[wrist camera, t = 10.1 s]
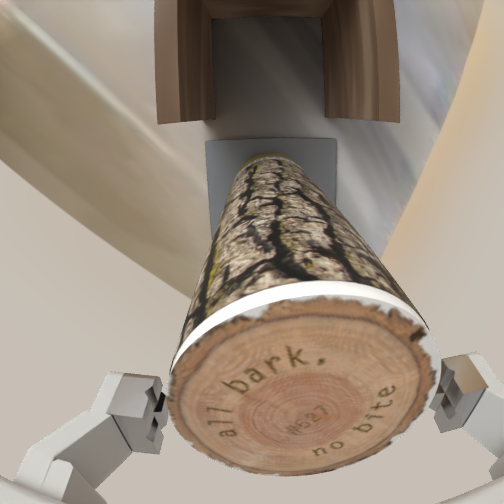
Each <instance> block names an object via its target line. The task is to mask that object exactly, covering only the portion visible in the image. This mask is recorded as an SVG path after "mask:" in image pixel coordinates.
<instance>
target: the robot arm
mask: <svg viewBox="0 0 504 504" xmlns="http://www.w3.org/2000/svg"><path fill="white" fill-rule="evenodd" d="M162 386H163V385H162V382H161V379H160V377H158V376H149V375H140V374H131V373H120V372H112V371H111V372H109V373H108V374H107V375H106V378H105V379H104V382H103V384H102V386H101V388H100V390H99V392H98V395H97V396H96V399H95V401H94V403H93V405H92V407H91V410H90V411H84V412H83V413H81V414H80V415H78V416H77V417H75V418H74V419H72V420H71V421H69V422H68V423H66V424H65V425H63V426H62V427H60V428H59V429H57V430H56V431H54V432H53V433H52V434H50V435H48V436H47V437H45V438H44V439H42V440H41V441H39V442H38V443H36V444H35V445H33V446H32V447H30V448H29V450H28V452H27V454H26V456H25V458H24V460H23V462H22V464H21V466H20V468H19V471H18V473H17V475H16V477H15V479H14V481H13V482H12V481H10V480H8V479H6V478H4V477H2V476H0V504H107V503H106V501H105V500H104V499H103V498H102V496H101V495H100V494H98V492H97V491H95V488H97V487H98V486H99V485H100V484H101V483H102V482H103V481H104V480H105V479H106V478H107V477H108V476H109V475H110V474H111V473H112V472H113V471H114V470H115V469H116V468H117V467H119V466H120V465H121V464H122V463H123V462H124V461H125V460H126V459H127V457H129V456H130V455H131V453H132V451H133V452H141V453H150V454H160V450H161V445H162V441H163V434H162V432H161V429H162V428H163V427H164V426H166V424H167V419H168V409H167V405H166V395H165V394H163V393H162V392H161V389H162ZM429 407H430V408H431V409H433V410H434V411H436V412H435V415H434V419H435V421H436V423H437V425H438V428H439V430H440V432H441V433H443V432H447V431H451V430H454V429H458V428H461V427H463V428H462V429H463V430H465V431H466V432H467V433H468V434H470V435H471V436H472V437H473V438H474V439H476V440H477V441H478V442H479V443H481V444H482V445H483V446H484V447H485V448H487V449H488V450H489V451H490V452H492V453H493V454H494V455H495V456H496V457H498V458H499V459H498V460H497V461H496V462H495V463H494V464H493V466H491V468H490V470H489V472H490V474H491V476H492V479H493V481H491V482H489V483H487V484H485V485H483V486H480V487H478V488H476V489H473V490H471V491H468V492H466V493H464V494H461V495H459V496H456V497H453V498H451V499H448V500H445V501H443V502H440V503H437V504H504V383H502V384H501V383H500V381H499V380H498V378H497V377H496V376H495V374H494V373H493V371H492V370H491V368H490V367H489V366H488V364H487V363H486V361H485V360H484V359H483V357H482V356H481V354H480V353H478V352H472V353H468V354H464V355H459V356H454V357H449V358H445V359H441V375H440V381H439V384H438V388H437V391H436V393H435V396H434V398H433V400H432V402H431V403H430V405H429Z"/></svg>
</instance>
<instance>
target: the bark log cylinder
mask: <svg viewBox="0 0 504 504" xmlns="http://www.w3.org/2000/svg"><path fill="white" fill-rule="evenodd" d="M440 375H441V357H440V351H439V348H438V346H437V343H436V341H435V339H434V337H433V335H432V333H431V332H430V330H429V328H428V326H427V325H426V323H425V321H424V320H423V318H422V317H421V316H420V314H419V312H418V311H417V310H416V308H415V307H414V305H413V304H412V303H411V301H410V300H409V298H408V297H407V296H406V294H405V293H404V292H403V290H402V289H401V288H400V286H399V285H398V284H397V282H396V281H395V280H394V278H393V277H392V276H391V274H390V273H389V272H388V270H387V269H386V268H385V267H384V265H383V264H382V263H381V261H380V260H379V259H378V257H377V256H376V255H375V254H374V252H373V251H372V250H371V249H370V247H369V246H368V245H367V244H366V242H365V241H364V240H363V239H362V237H361V236H360V235H359V234H358V232H357V231H356V230H355V229H354V228H353V226H352V225H351V224H350V223H349V222H348V220H347V219H346V218H345V217H344V216H343V214H342V213H341V212H340V211H339V210H338V209H337V207H336V206H335V205H334V204H333V203H332V202H331V200H330V199H329V198H328V197H327V196H326V195H325V193H324V192H323V191H322V190H321V189H320V188H319V187H318V186H317V184H316V183H315V182H314V181H313V180H312V179H311V178H310V177H309V175H308V174H307V173H306V172H305V171H304V170H303V169H302V168H301V167H300V166H299V165H298V164H297V163H296V162H295V161H294V160H292V159H291V158H289V157H287V156H285V155H282V154H278V153H263V154H259V155H256V156H254V157H252V158H250V159H249V160H248V161H246V162H245V163H244V164H243V165H242V166H241V168H240V169H239V171H238V172H237V174H236V177H235V180H234V182H233V184H232V187H231V190H230V192H229V195H228V198H227V200H226V203H225V206H224V209H223V212H222V214H221V217H220V220H219V223H218V225H217V228H216V231H215V234H214V237H213V240H212V243H211V245H210V248H209V251H208V254H207V257H206V260H205V263H204V266H203V269H202V272H201V275H200V277H199V280H198V283H197V286H196V289H195V292H194V295H193V298H192V301H191V305H190V308H189V311H188V314H187V317H186V320H185V323H184V326H183V329H182V332H181V336H180V339H179V342H178V345H177V349H176V351H175V355H174V358H173V361H172V365H171V368H170V375H169V379H168V383H167V388H166V405H167V409H168V413H169V416H170V418H171V421H172V423H173V424H174V426H175V428H176V429H177V431H178V432H179V433H180V435H181V436H182V437H183V438H184V439H185V440H186V441H187V442H188V443H189V444H190V445H191V446H192V447H193V448H195V449H196V450H197V451H199V452H200V453H202V454H203V455H205V456H206V457H208V458H210V459H212V460H214V461H216V462H218V463H220V464H223V465H225V466H228V467H231V468H233V469H237V470H240V471H244V472H249V473H254V474H260V475H269V476H302V475H312V474H318V473H324V472H329V471H333V470H337V469H340V468H343V467H346V466H349V465H352V464H355V463H357V462H360V461H362V460H364V459H367V458H369V457H371V456H373V455H375V454H376V453H378V452H380V451H382V450H383V449H385V448H387V447H388V446H390V445H391V444H393V443H394V442H396V441H397V440H398V439H399V438H401V437H402V436H403V435H404V434H405V433H407V432H408V431H409V430H410V429H411V428H412V427H413V426H414V425H415V424H416V423H417V422H418V420H419V419H420V418H421V417H422V415H423V414H424V413H425V411H426V410H427V408H428V407H429V405H430V403H431V402H432V400H433V398H434V396H435V393H436V391H437V388H438V384H439V381H440Z"/></svg>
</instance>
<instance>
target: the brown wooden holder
mask: <svg viewBox="0 0 504 504" xmlns="http://www.w3.org/2000/svg"><path fill="white" fill-rule="evenodd" d="M258 16H288V17H313V18H321V24H322V40H323V60H324V89H325V117H327V118H347V119H362V120H375V121H386V122H396V123H400V84H399V59H398V43H397V31H396V20H395V11H394V2H393V0H155V12H154V41H155V81H156V103H157V120H158V125H159V124H168V123H177V122H187V121H198V120H210V119H215V99H214V74H213V44H212V19H219V18H234V17H258Z"/></svg>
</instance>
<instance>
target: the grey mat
mask: <svg viewBox="0 0 504 504" xmlns="http://www.w3.org/2000/svg"><path fill="white" fill-rule="evenodd" d="M336 146H337V139H329V138H257V139H230V140H212V141H205V150H206V166H207V181H208V195H209V209H210V221H211V234H212V240H213V237H214V234H215V231H216V228H217V225H218V223H219V220H220V217H221V214H222V212H223V209H224V206H225V203H226V200H227V198H228V195H229V192H230V190H231V187H232V184H233V182H234V180H235V177H236V174H237V172H238V171H239V169H240V168H241V166H242V165H243V164H244V163H245V162H246V161H248V160H249V159H250V158H252V157H254V156H256V155H259V154H263V153H278V154H282V155H285V156H287V157H289V158H291V159H292V160H294V161H295V162H296V163H297V164H298V165H299V166H300V167H301V168H302V169H303V170H304V171H305V172H306V173H307V174H308V175H309V177H310V178H311V179H312V180H313V181H314V182H315V183H316V184H317V186H318V187H319V188H320V189H321V190H322V191H323V192H324V193H325V195H326V196H327V197H328V198H329V199H330V200H331V202H332V203H333V204H334V205H335V190H336Z"/></svg>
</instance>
